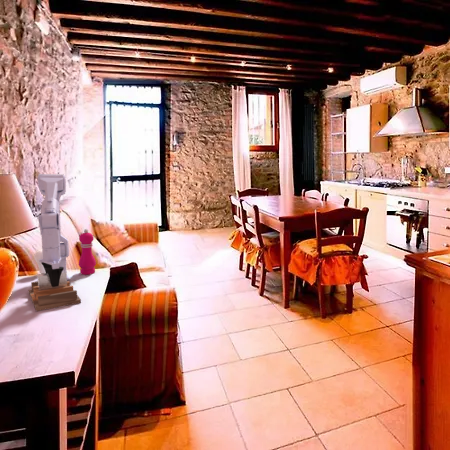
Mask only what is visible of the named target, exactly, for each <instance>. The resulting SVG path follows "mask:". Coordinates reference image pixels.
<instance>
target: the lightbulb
mask: <svg viewBox="0 0 450 450" xmlns="http://www.w3.org/2000/svg"><path fill="white" fill-rule="evenodd" d="M33 259H34V261H35V262H36V264H37V267H38V270H39V274H43V273H46V272H45V269H44V267H43V265H42V263H41V262H39V260H40V259H43V254H42V248H41V249H38V250H37V251H35V253H34V255H33Z"/></svg>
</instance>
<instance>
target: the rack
mask: <svg viewBox="0 0 450 450" xmlns="http://www.w3.org/2000/svg"><path fill="white" fill-rule="evenodd" d="M30 283H31V284H30V285H31V289H28V295H29V297H30V299H31V301H32V304H33V307H34V310H35V312H40V311H44V310H49V309H54V308H55V309H56V308H60V307H61V308H62V307H65V306H72V305H76V304H81V303H82V302H81V301H82V300H81V298H80V297H79V295H78V291H77V290H74V285H71V282H70V281H69V280H67V287H60V288H54V289H48V290H42V291H38V280H37V281H32V282H30Z"/></svg>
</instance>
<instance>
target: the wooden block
mask: <svg viewBox="0 0 450 450" xmlns="http://www.w3.org/2000/svg"><path fill="white" fill-rule="evenodd" d="M66 271H67V270H66ZM66 271H62V273H61V276H60V281H59V286H57V287H52V286H51V283H50V278H49V275H48V273H43V274H41V273H37V281H38V291H42V290H48V289H54V288H60V287H67V282H68V280H67V276H68V275H67V274H66Z"/></svg>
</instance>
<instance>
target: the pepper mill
mask: <svg viewBox="0 0 450 450" xmlns="http://www.w3.org/2000/svg"><path fill="white" fill-rule="evenodd" d="M78 240H79V242H80V247H81V254H80V258H79V260H78V267H80V269H79V272H80V273H79V274H81V275H84V276H86V275H87V276H88V275H93V274H95V273H96V267H95V266H96V264H97V261H96V258H95V256H94V255H93V252H92V248H93V242H94V240H95V239H94V235H93V234H92V233H90V232H89V229H87V228H86V229H84V230H83V232H82V233H81V234H79V236H78Z"/></svg>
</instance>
